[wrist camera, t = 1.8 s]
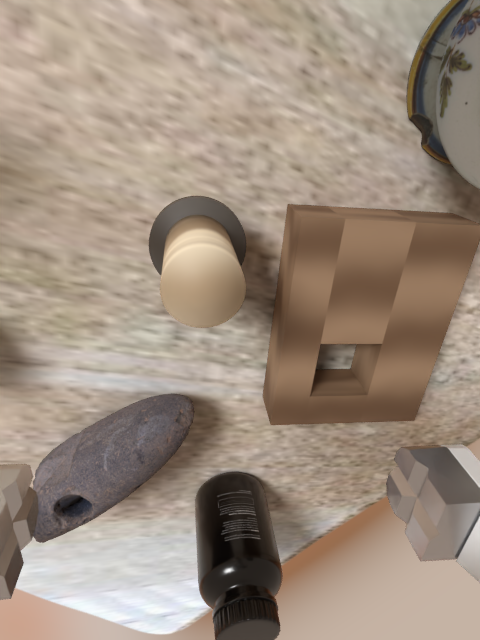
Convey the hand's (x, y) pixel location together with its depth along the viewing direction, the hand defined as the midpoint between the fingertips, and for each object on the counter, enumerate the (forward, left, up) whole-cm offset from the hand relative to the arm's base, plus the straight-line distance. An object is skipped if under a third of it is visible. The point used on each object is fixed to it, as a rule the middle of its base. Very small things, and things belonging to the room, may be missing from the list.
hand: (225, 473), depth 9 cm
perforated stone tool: (+17, -6, -20) cm, 27 cm away
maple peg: (0, 0, -20) cm, 20 cm away
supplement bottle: (+26, +4, -20) cm, 33 cm away
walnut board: (+6, +12, -20) cm, 24 cm away
